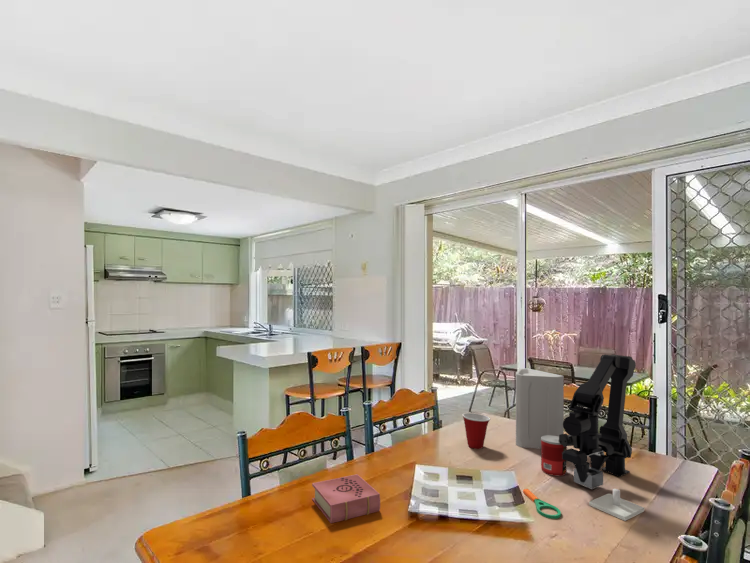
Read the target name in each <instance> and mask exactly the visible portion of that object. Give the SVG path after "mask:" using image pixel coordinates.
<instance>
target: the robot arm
mask: <svg viewBox="0 0 750 563" xmlns="http://www.w3.org/2000/svg"><path fill="white" fill-rule="evenodd" d="M636 362H637V361H636V360H635V359H633V357H632V356H630V355H621V354H606V353H605V354H602V355H601V356H600V359H599V362H598V364H597V366H596V368H595V369H594V371H593V372H592V374H591V375H590V377H589V379H588V380H587V381H585V382H583V383H581V384H579V386H578V387H577V389H576V390H575V391H574V393H573V396H572V399H571V401H570V405H569V408H568V410H569V411H570V412H568V413H569V416H566V417H564V421H563V428H564V432H566V433H564V434H560V435H559V443H560V444H561V445H563V447H566V446H567V447H573V448H568V449H567V450H565V451H563V452H562V459H563V460H566V461H567V462H569V463H571V464H573V465H574V467H575V468H576V470H577V473H578V476H579V479H580V481H581V482H583V483H584V482H585V479H586V476H587V473H588V470H589V467H592V468H595V469H597V470H600V471H603V472H606V473H608V474H611V475H613V476H614V475H615V476H617V477H623V476H625V475H628V474H629V473H630V471H631V470H628V469H626V459H628V458H629V459H630V458H632V453H633V448H632V446H631V444H630V443H629V441H628V433H627V431H626V429H625V427H624V425H623V424H624V414H625V404H626V396H627V395H626V394H627V385H628V382H629V381H630V380H631V378H632V377H633V376H634V372H635V369H636V368H637V366H636V364H637V363H636ZM609 381H610V388H609V397H608V405H607V406H608V407H607V414H606V415H607V416H606V421H605V423H604V424H603V425H600V427H599V414H601V408H602V406H603V405H604V399H605V397H604V394H603V392H604V389H605V388H606V386H607V384H608V383H609ZM588 459H589V461H590V462H588ZM604 465H605V466H604ZM603 466H604V467H603ZM575 468H574V469H575Z"/></svg>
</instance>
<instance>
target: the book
mask: <svg viewBox="0 0 750 563" xmlns="http://www.w3.org/2000/svg"><path fill="white" fill-rule="evenodd" d="M311 485H312V488H313V489H314V497H312V501H313V502H314V504H315V505H316V506H317V508H318V509H319V510H320V511H321V513H322V514H323V515H324V517H325V518H326V519H327V520H328V522H329V524H333V523H337V522H341V521H347V520H349V519H354V518H358V517H361V516H364V515H367V516H369V514H372V513H377V512H380V510H381V495H380V494H381V493H380V492H378V491H377V490H376V489H375V488H374V487H373V486H372V485H370V484H369V482H367V481H366V480H365V479H363V477H361V476H360V475H359V474H357V473H356V474H352V475H347V476H341V477H337V478H332V479H327V480H321V481H317V482H312V484H311Z"/></svg>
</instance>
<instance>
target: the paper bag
mask: <svg viewBox="0 0 750 563" xmlns="http://www.w3.org/2000/svg"><path fill="white" fill-rule="evenodd" d="M564 378H565V377H564V375H561V374H558V373H557V374H556V373H552V372H547V371H542V370H536V369H533V368H532V369H531V368H528V367H527V368H519V369H518V370H517V371H516V373H515V446H517V447H519V448H527V449H538V450H539V449H540V450H541V437H542V436H546V435H552V436H558V437H559V435H560V434H565V433H564V432H565V430H564V428H563V421H564V419H565V417H564V403H565V402H564V386H565V384H564V383H565V381H564Z"/></svg>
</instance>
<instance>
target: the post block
mask: <svg viewBox="0 0 750 563" xmlns="http://www.w3.org/2000/svg"><path fill="white" fill-rule="evenodd" d="M588 503H589V504H588V505H589V506H590V507H592V508H594V509H597V510H600V511H602V512H604V513H606V514H608V515H611V516H613V517H615V518H617V519H619V520H622V521H624V522H626V521H627V520H630V519H632V518H634V517H636V516H638V515H640V514H642V513H643V512H645V507H644V506H642V505H639V504H638V503H637V504H636V503H634V502H631V501H630V500H626V499H625V498H622V497H621V490H620V489H618V488H612V493H606V494H603V495H602V496H599V497H597V498H594V499H592V500H590V501H589V502H588Z"/></svg>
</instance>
